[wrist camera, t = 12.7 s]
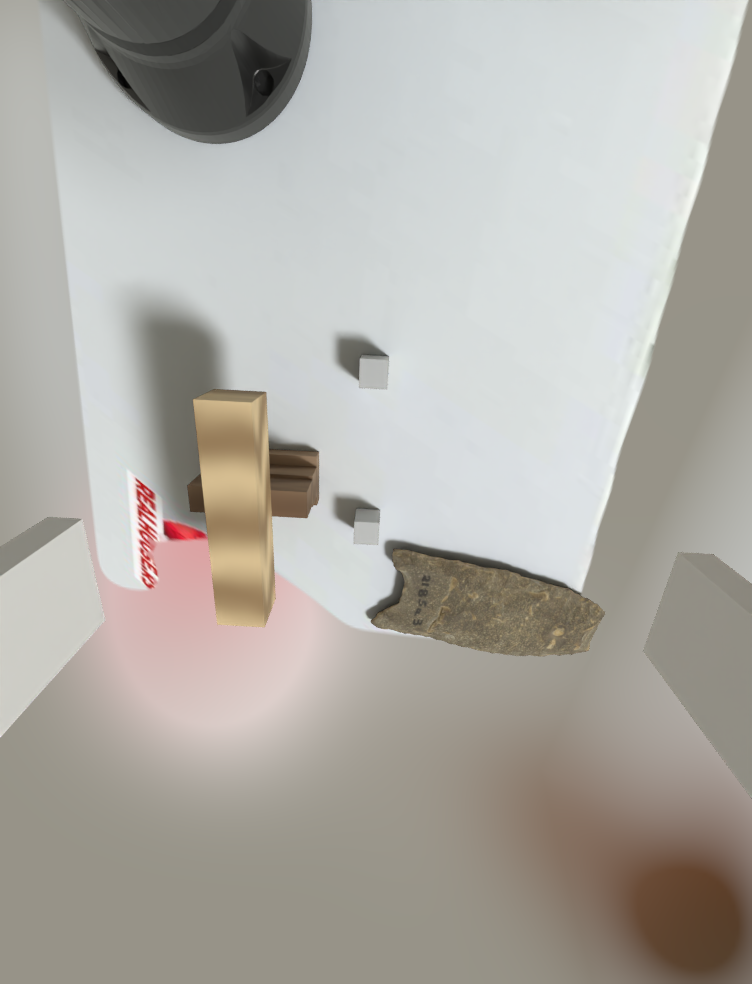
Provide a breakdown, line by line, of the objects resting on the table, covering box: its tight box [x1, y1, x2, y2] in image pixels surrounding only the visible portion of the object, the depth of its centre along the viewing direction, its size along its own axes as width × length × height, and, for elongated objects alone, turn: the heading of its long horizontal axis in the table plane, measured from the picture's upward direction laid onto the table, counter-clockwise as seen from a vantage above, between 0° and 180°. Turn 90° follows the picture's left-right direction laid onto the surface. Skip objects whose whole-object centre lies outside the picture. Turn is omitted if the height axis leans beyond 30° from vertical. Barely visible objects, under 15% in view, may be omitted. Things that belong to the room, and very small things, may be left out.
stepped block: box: [187, 449, 319, 518], centre depth 41 cm, size 5×10×7 cm, turn 87°
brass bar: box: [193, 389, 276, 627], centre depth 36 cm, size 19×4×4 cm, turn 177°
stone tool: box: [371, 549, 605, 656], centre depth 49 cm, size 11×3×25 cm
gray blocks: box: [354, 355, 389, 545], centre depth 42 cm, size 17×2×3 cm, turn 177°
